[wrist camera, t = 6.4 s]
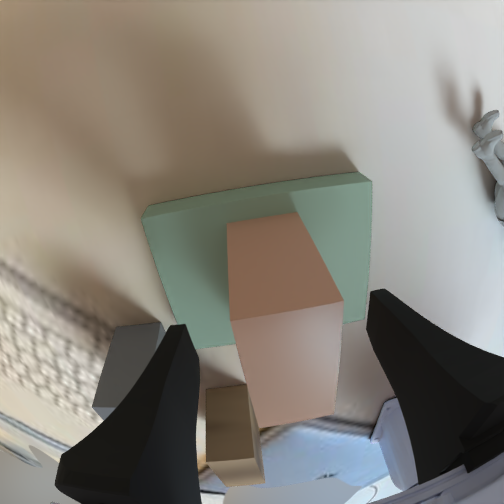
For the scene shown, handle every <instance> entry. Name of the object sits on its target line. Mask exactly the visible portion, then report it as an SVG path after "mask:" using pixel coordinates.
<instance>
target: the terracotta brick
mask: <svg viewBox="0 0 504 504" xmlns="http://www.w3.org/2000/svg"><path fill="white" fill-rule="evenodd" d="M227 255H228V283H229V308H230V323H231V327H232V331H233V334H234V338H235V342H236V346H237V350H238V354H239V357H240V361H241V365H242V369H243V372H244V376H245V380H246V383H247V387H248V391H249V394H250V398H251V402H252V405H253V409H254V412H255V416H256V419H257V423H258V426H259V428H262V427H269V426H276V425H282V424H287V423H293V422H298V421H304V420H309V419H314V418H318V417H323V416H327V415H332V414H334V409H335V401H336V393H337V384H338V374H339V364H340V353H341V341H342V327H343V311H344V300H343V298H342V296H341V294H340V292H339V290H338V288H337V286H336V284H335V282H334V280H333V278H332V276H331V274H330V272H329V270H328V268H327V266H326V264H325V263H324V261H323V259H322V257H321V255H320V253H319V251H318V249H317V247H316V245H315V244H314V242H313V240H312V238H311V236H310V234H309V232H308V231H307V229H306V227H305V225H304V223H303V221H302V220H301V218H300V216H299V214H298V212H294V213H287V214H281V215H274V216H268V217H262V218H255V219H249V220H243V221H237V222H231V223H227Z"/></svg>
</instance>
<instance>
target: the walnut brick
mask: <svg viewBox="0 0 504 504" xmlns="http://www.w3.org/2000/svg"><path fill="white" fill-rule="evenodd" d="M206 463H207V464H208V465H209V467H210V468H211V469H212V470H213V471H214V473H215V474H216V475H217V476H218V478H219V479H220V480H221V481H222V482H223V483H224V485H225V486H226V487H232V486H244V485H254V484H263V483H265V476H264V468H263V460H262V452H261V443H260V435H259V426H258V423H257V419H256V416H255V412H254V409H253V405H252V402H251V398H250V394H249V391H248V387H247V384H245V385H237V386H230V387H221V388H213V389H206Z"/></svg>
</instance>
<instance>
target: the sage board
mask: <svg viewBox="0 0 504 504" xmlns="http://www.w3.org/2000/svg"><path fill="white" fill-rule="evenodd" d="M294 212H298V214H299V216H300V218H301V220H302V221H303V223H304V225H305V227H306V229H307V231H308V232H309V234H310V236H311V238H312V240H313V242H314V244H315V245H316V247H317V249H318V251H319V253H320V255H321V257H322V259H323V261H324V263H325V264H326V266H327V268H328V270H329V272H330V274H331V276H332V278H333V280H334V282H335V284H336V286H337V288H338V290H339V292H340V294H341V296H342V298H343V300H344V311H343V324H346V323H350V322H355V321H359V320H363V319H364V318H365V309H366V300H367V289H368V277H369V263H370V246H371V222H372V181H371V180H370V179H368V178H367V177H365V176H364V175H363V174H361V173H360V172H353V173H344V174H335V175H327V176H319V177H312V178H304V179H297V180H290V181H283V182H276V183H270V184H263V185H257V186H251V187H244V188H238V189H233V190H227V191H221V192H216V193H210V194H205V195H199V196H194V197H189V198H184V199H179V200H174V201H169V202H164V203H159V204H154V205H150V206H148V207H147V209H146V211H145V212H144V214H143V216H142V217H141V221H142V224H143V227H144V231H145V234H146V237H147V240H148V243H149V246H150V249H151V252H152V255H153V258H154V261H155V264H156V267H157V270H158V273H159V276H160V278H161V281H162V284H163V287H164V289H165V292H166V295H167V298H168V300H169V303H170V306H171V308H172V311H173V313H174V316H175V319H176V321H177V324H178V325H179V324H186V327H187V329H188V332H189V334H190V337H191V340H192V342H193V345H194V347H195V349H201V348H209V347H217V346H224V345H231V344H236V342H235V338H234V334H233V331H232V327H231V323H230V308H229V283H228V255H227V223H231V222H237V221H243V220H249V219H255V218H262V217H268V216H274V215H281V214H287V213H294Z"/></svg>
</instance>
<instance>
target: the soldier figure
mask: <svg viewBox="0 0 504 504" xmlns="http://www.w3.org/2000/svg"><path fill="white" fill-rule="evenodd" d="M498 117H499V111H498V110H493V111H490V112H488V113H486V114H485V115H484V117H483V118H482V120H481V121H480V122H477V123H476V124H475V125H474V127H473V131H474V132H475V134H476V135H477V136H479V137H480V138H482V139H483V140H482V141H481V142H480V141H478V142H477V143H476V144H475V145H474V146H473V148H472V151H473V152H474V153H475V155H476V156H477V157H478V158H480V159H482V160H483V161H484V162H485V164H486V166H487V168H488V169H489V171H490V172H491V173H492V175H493V176H494V178H495V179H496V180H497V183H496V186H495V213H496V215H497V218H498V220H499V222H500V223H501V224H502V225H503V226H504V143H503V142H502V141H501V139H502V138H503V132H502V131H501V130H495V131H492V125H493V122H494V121H495V119H496V118H498ZM495 154H496V155H497V157H498V158H499V159H501V160H502V164H501V162H500V161H499V159H498V158H497V157H496V155H495Z"/></svg>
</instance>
